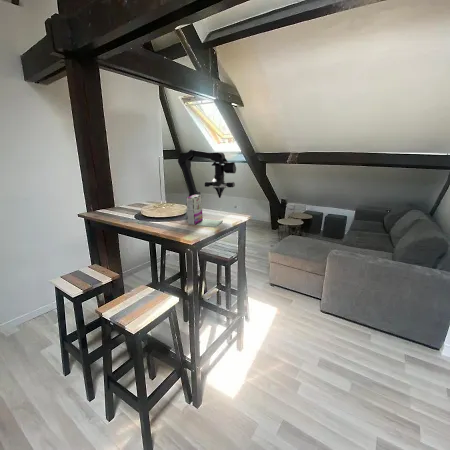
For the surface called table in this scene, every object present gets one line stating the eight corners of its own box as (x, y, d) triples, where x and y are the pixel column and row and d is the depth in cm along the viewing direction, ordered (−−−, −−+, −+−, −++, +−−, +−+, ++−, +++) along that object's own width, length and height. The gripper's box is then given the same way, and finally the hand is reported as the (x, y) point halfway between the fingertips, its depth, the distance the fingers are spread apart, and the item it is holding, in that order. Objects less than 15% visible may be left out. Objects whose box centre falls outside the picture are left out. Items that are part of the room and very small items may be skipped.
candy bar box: (195, 219, 154) (194, 194, 149) (202, 220, 152) (202, 194, 148) (187, 224, 144) (185, 197, 139) (194, 225, 142) (193, 197, 138)
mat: (196, 225, 142) (196, 224, 142) (204, 219, 154) (204, 219, 154) (216, 227, 138) (216, 226, 138) (222, 221, 150) (222, 220, 150)
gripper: (200, 174, 147) (201, 199, 151) (230, 174, 142) (230, 200, 146) (207, 172, 157) (207, 196, 162) (235, 173, 152) (234, 197, 156)
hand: (219, 197), depth 156 cm, fingers closed
